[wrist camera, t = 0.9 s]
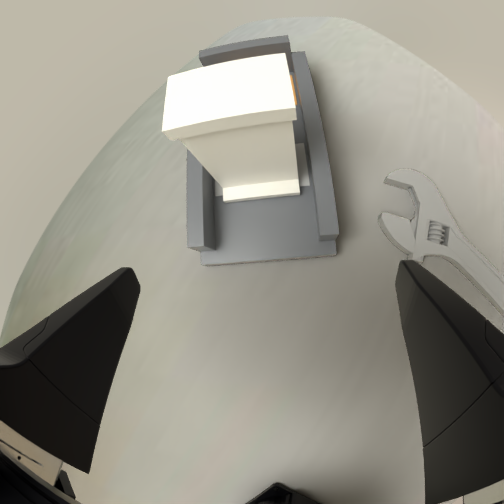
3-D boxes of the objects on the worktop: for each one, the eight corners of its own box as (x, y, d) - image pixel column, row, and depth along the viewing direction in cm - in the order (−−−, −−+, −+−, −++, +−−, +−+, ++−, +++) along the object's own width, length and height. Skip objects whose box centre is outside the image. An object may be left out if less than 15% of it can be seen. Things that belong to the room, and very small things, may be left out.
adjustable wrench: (542, 333, 16) (552, 335, 14) (513, 384, 16) (522, 388, 15) (399, 164, 21) (405, 156, 19) (358, 218, 21) (362, 213, 20)
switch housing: (334, 255, 21) (344, 246, 16) (207, 266, 23) (178, 260, 17) (304, 72, 23) (301, 32, 18) (205, 87, 25) (186, 52, 20)
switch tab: (302, 194, 20) (297, 121, 10) (222, 203, 21) (161, 144, 12) (295, 135, 21) (283, 44, 11) (221, 145, 22) (169, 67, 12)
